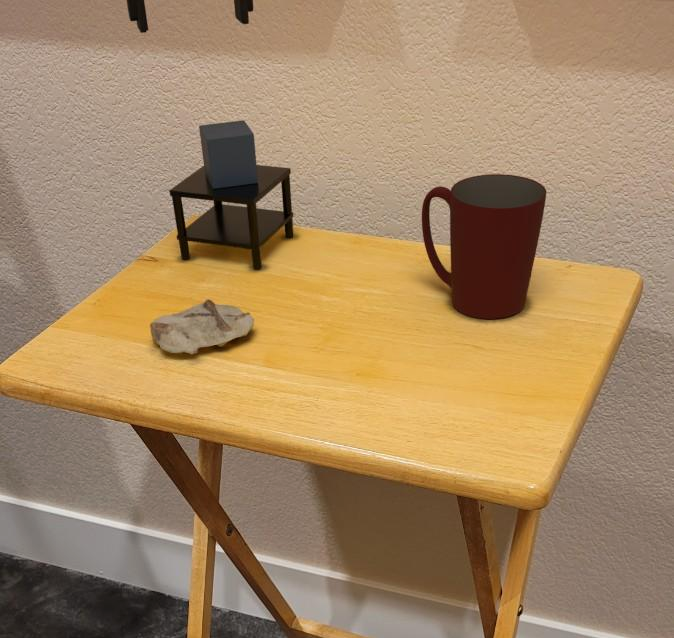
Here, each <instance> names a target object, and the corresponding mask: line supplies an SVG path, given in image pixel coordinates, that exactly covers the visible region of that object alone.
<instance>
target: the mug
mask: <svg viewBox="0 0 674 638" xmlns="http://www.w3.org/2000/svg"><path fill="white" fill-rule="evenodd" d="M434 198H438V199H442V200H443V201H445V203H447V205H448V207H449V242H450V243H449V244H450V245H449V248H450V250H449V251H450V271H448V270H447V269H446V268H445V266H444V265H443V263H442V262H441V259H440V258H439V256H438V253H437V250H436V248H435V244H434V241H433V236H432V230H431V229H432V228H431V220H430V219H431V216H430V207H431V202H432V200H433V199H434ZM546 200H547V189H546V187H545V186H544V185H543V184H542V183H540V182H539V181H536V180H535V179H531V178H529V177H524V176H520V175H515V174H505V173H502V174H501V173H492V174H491V173H490V174H479V175H474V176H470V177H465V178H463V179H460V180H458V181H457V182H455V183H454V184H453V185H452V186H451V188H450V189H449V188H448V187H446V186H442V185H441V186H440V185H439V186H435V187H433V188H432V189H429V191H428V192H427V194H426V195H425V197H424V198H423V202H422V207H421V229H422V238H423V243H424V248H425V251H426V255H427V257H428V260H429V263H430V264H431V266H432V269H433V270H434V272H435V274H436V275H437V277H438V278H439V279H440V280H441V281H442V282H443V283H444V284H445V285H447V286H448V287H449V288H450V289H451V304H452V306H453V307H454V309H456V310H457V312H459V313H461V314H464V315H466V316H469V317H472V318H477V319H488V320H489V319H495V320H496V319H502V318H507V317H512V316H514V315H516V314H518V313H520V312H522V310H523V309H524V307H525V306H526V305H525V304H526V301H527V296H528V292H529V287H530V282H531V278H532V272H533V268H534V264H535V258H536V254H537V248H538V244H539V238H540V235H541V230H542V224H543V218H544V213H545V212H544V211H545V207H546V206H545V205H546Z"/></svg>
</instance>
